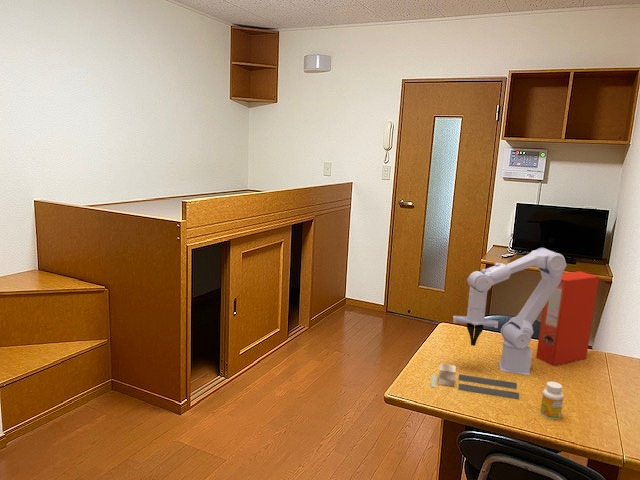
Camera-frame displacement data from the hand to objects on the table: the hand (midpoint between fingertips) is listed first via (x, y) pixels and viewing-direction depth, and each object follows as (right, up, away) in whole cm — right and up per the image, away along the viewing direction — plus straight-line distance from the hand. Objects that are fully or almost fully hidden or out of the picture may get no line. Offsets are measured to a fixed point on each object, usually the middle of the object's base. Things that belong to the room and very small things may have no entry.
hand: (472, 344), depth 168 cm
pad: (-12, -11, -8) cm, 18 cm away
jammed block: (-11, -10, -9) cm, 18 cm away
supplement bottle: (+14, -15, -26) cm, 33 cm away
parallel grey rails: (+1, -12, -12) cm, 17 cm away
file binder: (+37, -8, +14) cm, 41 cm away
